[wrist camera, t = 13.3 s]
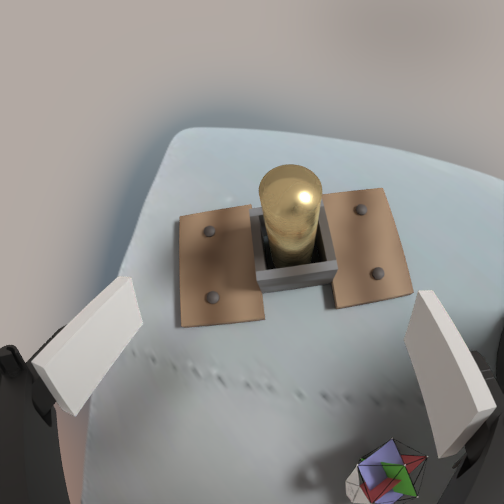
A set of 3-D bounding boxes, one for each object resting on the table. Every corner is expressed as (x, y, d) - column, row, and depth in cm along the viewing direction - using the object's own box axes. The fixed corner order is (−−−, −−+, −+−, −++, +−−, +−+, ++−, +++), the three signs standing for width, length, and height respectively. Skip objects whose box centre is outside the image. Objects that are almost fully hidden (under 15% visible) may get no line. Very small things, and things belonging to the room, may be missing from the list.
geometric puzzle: (421, 416, 19) (400, 466, 13) (440, 466, 17) (422, 520, 11) (357, 438, 23) (320, 482, 17) (379, 483, 20) (346, 531, 14)
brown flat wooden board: (380, 192, 30) (390, 169, 26) (409, 294, 26) (428, 282, 21) (182, 220, 32) (167, 200, 28) (184, 327, 28) (166, 321, 23)
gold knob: (308, 235, 29) (314, 161, 18) (314, 272, 28) (328, 212, 17) (269, 240, 30) (255, 169, 19) (274, 278, 28) (262, 221, 17)
